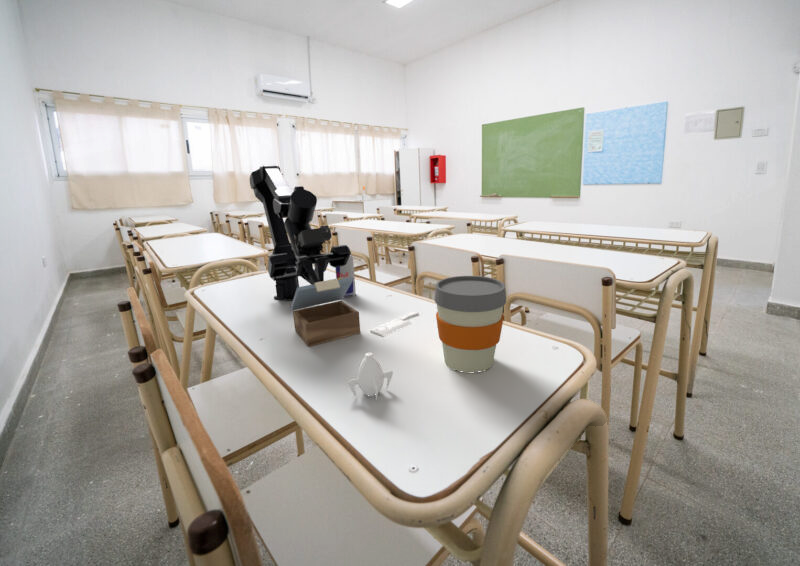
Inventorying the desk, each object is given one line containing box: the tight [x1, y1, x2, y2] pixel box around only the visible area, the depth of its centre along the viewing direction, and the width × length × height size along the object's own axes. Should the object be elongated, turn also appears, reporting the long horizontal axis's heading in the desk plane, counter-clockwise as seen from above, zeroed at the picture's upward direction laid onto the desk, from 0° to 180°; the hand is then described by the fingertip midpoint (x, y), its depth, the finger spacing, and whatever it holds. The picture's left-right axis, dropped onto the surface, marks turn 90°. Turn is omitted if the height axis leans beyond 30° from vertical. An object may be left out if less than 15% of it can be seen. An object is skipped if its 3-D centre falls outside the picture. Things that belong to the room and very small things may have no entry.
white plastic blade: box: [369, 311, 420, 338], centre depth 87 cm, size 5×15×1 cm, turn 136°
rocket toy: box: [347, 349, 394, 402], centre depth 59 cm, size 5×5×8 cm
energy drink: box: [334, 254, 357, 299], centre depth 109 cm, size 5×5×12 cm
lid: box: [290, 277, 353, 311], centre depth 83 cm, size 11×12×2 cm
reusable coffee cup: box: [434, 275, 507, 372], centre depth 67 cm, size 13×13×15 cm
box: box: [292, 300, 361, 347], centre depth 84 cm, size 10×12×5 cm
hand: (321, 291), depth 83 cm, fingers closed, pressing on lid
